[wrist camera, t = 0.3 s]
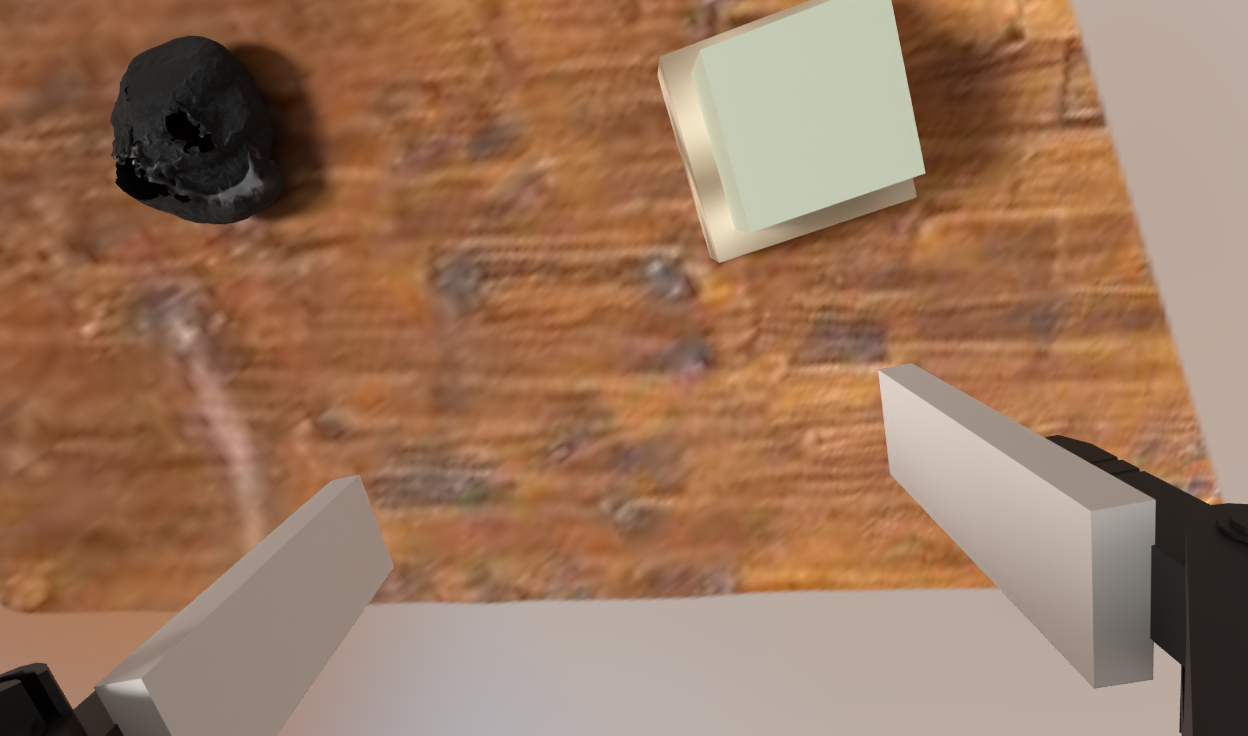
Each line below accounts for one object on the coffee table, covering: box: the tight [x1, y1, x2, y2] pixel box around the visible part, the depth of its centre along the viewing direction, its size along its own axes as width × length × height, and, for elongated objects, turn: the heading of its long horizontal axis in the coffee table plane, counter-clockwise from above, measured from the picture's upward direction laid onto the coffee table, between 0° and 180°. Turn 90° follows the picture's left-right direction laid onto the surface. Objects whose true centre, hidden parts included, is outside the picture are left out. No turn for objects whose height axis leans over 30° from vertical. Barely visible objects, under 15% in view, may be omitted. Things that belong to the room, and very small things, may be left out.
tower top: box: [691, 0, 925, 233], centre depth 30 cm, size 9×9×5 cm
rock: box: [111, 36, 284, 224], centre depth 36 cm, size 9×10×10 cm
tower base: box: [658, 0, 917, 263], centre depth 35 cm, size 12×12×5 cm
